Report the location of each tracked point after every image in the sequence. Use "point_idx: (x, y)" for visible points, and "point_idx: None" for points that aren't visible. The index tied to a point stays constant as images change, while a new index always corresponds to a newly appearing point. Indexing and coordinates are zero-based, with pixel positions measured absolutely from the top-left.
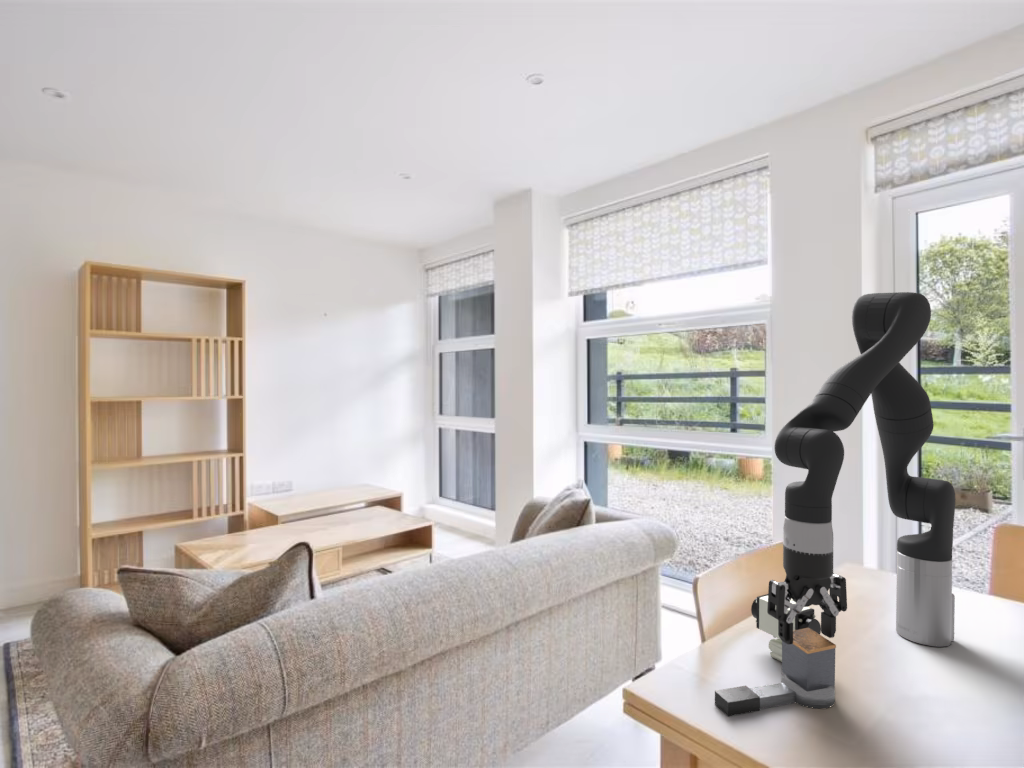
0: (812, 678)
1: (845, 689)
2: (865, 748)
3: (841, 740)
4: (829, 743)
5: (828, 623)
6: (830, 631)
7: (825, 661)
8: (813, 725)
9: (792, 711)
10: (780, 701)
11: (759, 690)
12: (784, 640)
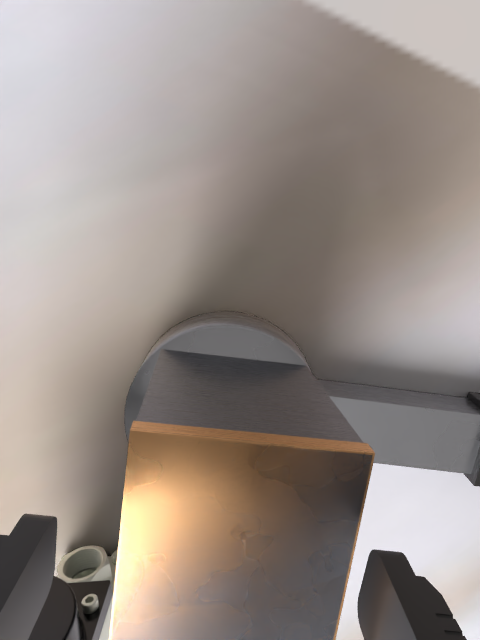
0: (288, 380)
1: (54, 367)
2: (332, 88)
3: (368, 158)
4: (424, 165)
5: (10, 615)
6: (37, 551)
7: (217, 399)
8: (377, 260)
9: (369, 346)
10: (381, 392)
11: (439, 450)
12: (426, 584)
